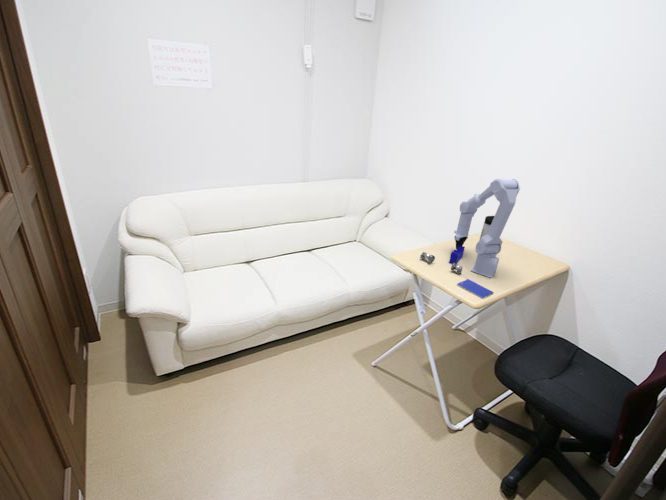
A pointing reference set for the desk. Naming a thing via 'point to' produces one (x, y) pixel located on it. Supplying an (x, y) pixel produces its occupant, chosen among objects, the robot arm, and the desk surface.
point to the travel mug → (486, 225)
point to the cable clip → (456, 254)
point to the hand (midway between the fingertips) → (458, 249)
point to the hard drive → (475, 288)
